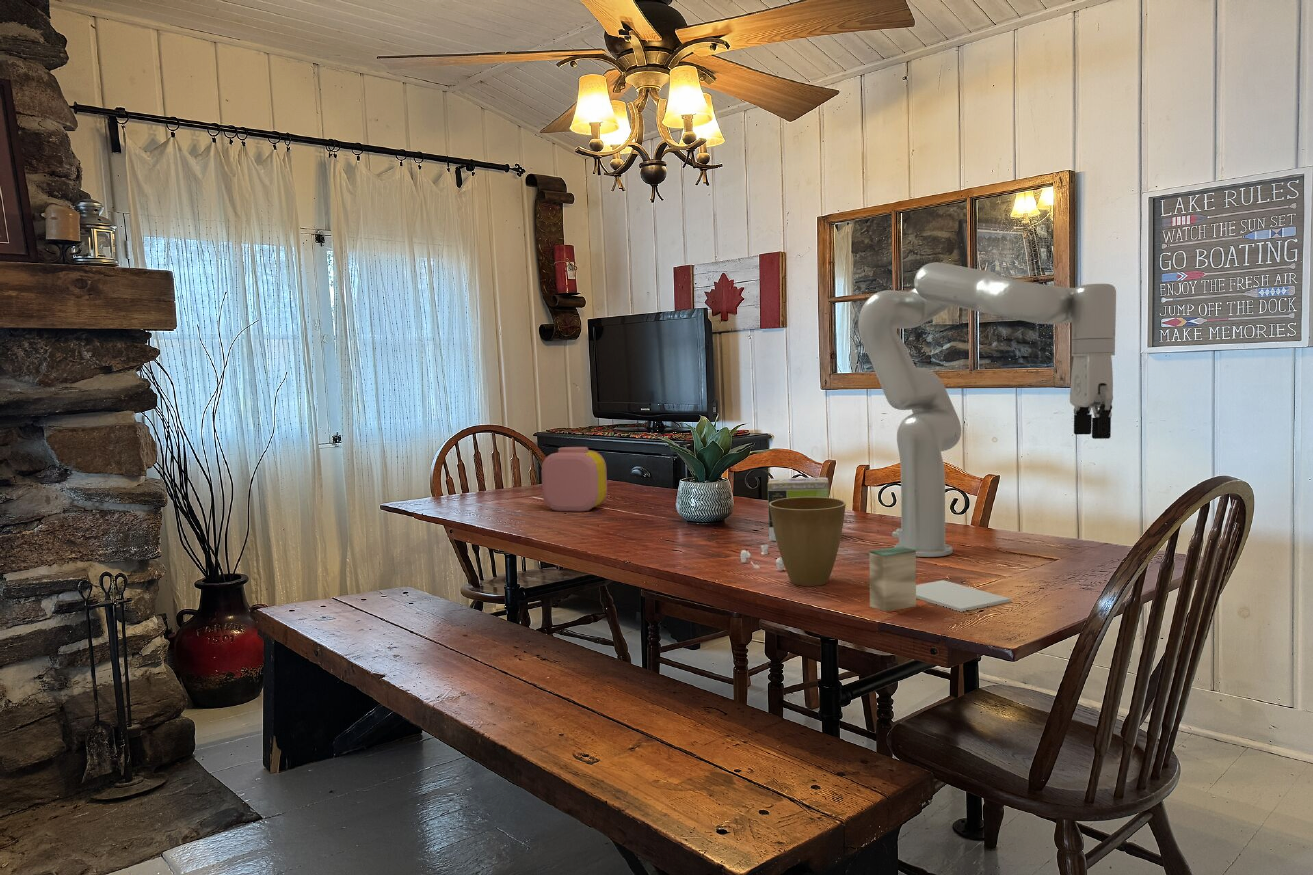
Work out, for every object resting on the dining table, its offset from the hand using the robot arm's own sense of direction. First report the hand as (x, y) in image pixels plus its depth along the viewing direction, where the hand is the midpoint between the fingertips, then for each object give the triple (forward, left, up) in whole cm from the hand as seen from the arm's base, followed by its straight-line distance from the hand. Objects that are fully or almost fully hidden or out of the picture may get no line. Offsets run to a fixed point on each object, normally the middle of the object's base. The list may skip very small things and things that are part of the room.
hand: (1091, 436), depth 170 cm
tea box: (-62, -25, -28) cm, 73 cm away
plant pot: (-25, -50, -28) cm, 62 cm away
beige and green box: (-3, -48, -28) cm, 55 cm away
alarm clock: (-138, -55, -28) cm, 151 cm away
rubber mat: (-2, -35, -27) cm, 44 cm away
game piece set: (-43, -43, -28) cm, 67 cm away
